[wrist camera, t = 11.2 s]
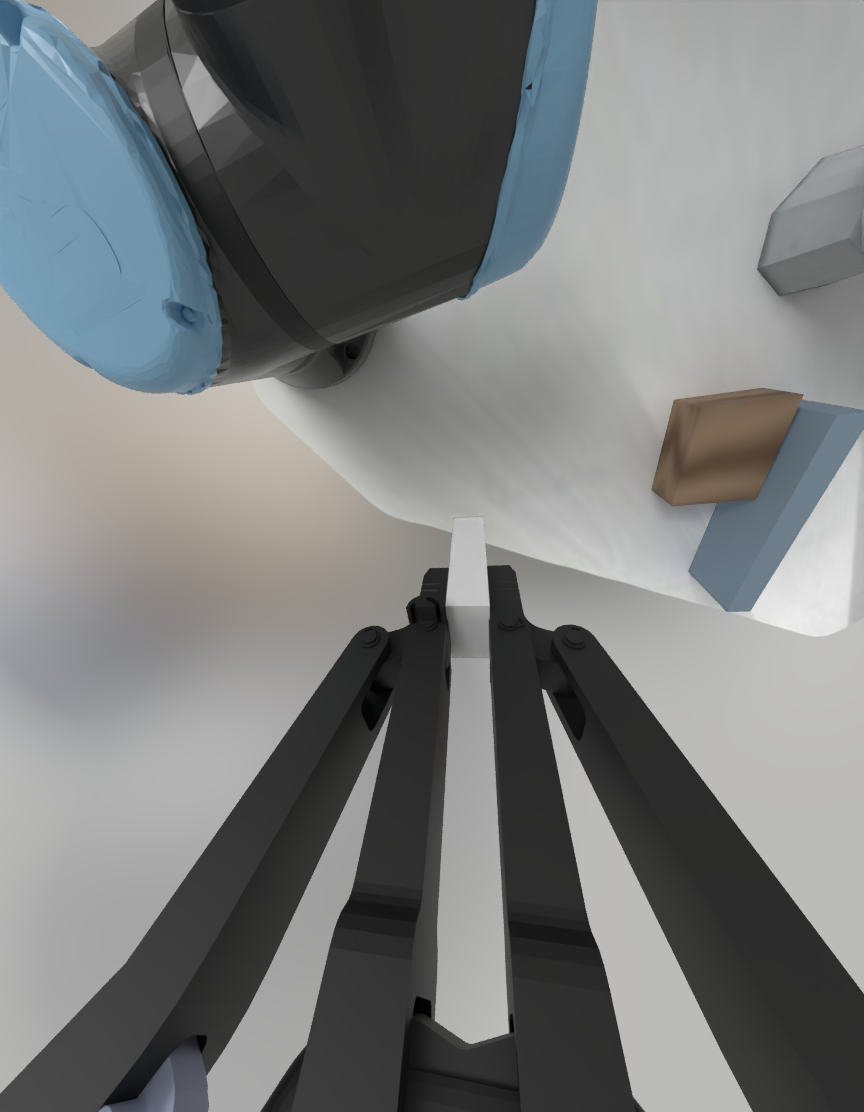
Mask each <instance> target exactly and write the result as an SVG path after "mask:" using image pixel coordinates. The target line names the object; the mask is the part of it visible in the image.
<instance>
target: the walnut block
mask: <svg viewBox="0 0 864 1112" xmlns="http://www.w3.org/2000/svg"><path fill="white" fill-rule="evenodd" d="M803 395H804V394H798V393H791V392H785V391H778V390H772V389H765V388H759V389H752V390H744V391H737V392H730V393H722V394H715V395H707V396H700V397H693V398H685V399H678V400H674V402H673V406H672V410H671V414H670V418H669V422H668V426H667V430H666V434H665V438H664V442H663V446H662V450H661V454H660V458H659V462H658V466H657V470H656V474H655V478H654V482H653V486H652V490H653V491H654V492H655V493H657V494H658V495H659V496H660V497H661V498H663V499H664V500H665V501H666V502H668V503H669V504H670V505H671V506H679V505H691V504H703V503H715V502H727V501H739V500H751V499H756V498H757V496H758V494H759V492H760V490H761V487H762V485H763V483H764V481H765V479H766V476H767V474H768V472H769V470H770V468H771V465H772V463H773V461H774V459H775V457H776V454H777V452H778V450H779V448H780V446H781V443H782V441H783V439H784V437H785V435H786V432H787V430H788V428H789V426H790V424H791V421H792V419H793V417H794V415H795V413H796V410H797V408H798V406H799V404H800V402H801V400H802V397H803Z"/></svg>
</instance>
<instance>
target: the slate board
mask: <svg viewBox="0 0 864 1112" xmlns="http://www.w3.org/2000/svg"><path fill="white" fill-rule="evenodd" d="M863 429H864V410H860V409H854V408H848V407H842V406H836V405H830V404H824V403H818V402H813V401H807V400H801V402H800V404H799V406H798V408H797V410H796V413H795V415H794V417H793V419H792V421H791V424H790V426H789V428H788V430H787V432H786V435H785V437H784V439H783V441H782V443H781V446H780V448H779V450H778V452H777V454H776V457H775V459H774V461H773V463H772V465H771V468H770V470H769V472H768V474H767V476H766V479H765V481H764V483H763V485H762V487H761V490H760V492H759V494H758V496H757V498H756V499H751V500H739V501H727V502H718V504H717V506H716V508H715V511H714V513H713V515H712V518H711V520H710V522H709V525H708V527H707V529H706V532H705V534H704V536H703V539H702V541H701V543H700V546H699V548H698V550H697V553H696V555H695V557H694V560H693V562H692V564H691V566H690V569H689V571H688V572H689V573H690V574H691V575H692V576H693V577H694V578H695V579H696V580H697V581H698V582H699V583H700V584H701V585H702V587H703V588H704V589H705V590H706V591H707V592H708V593H709V594H710V595H711V596H712V597H713V598H714V599H715V600H716V601H717V602H718V603H719V604H720V605H721V606H722V607H723V609H724V610H725V611H726V612H739V611H751V609H752V607H753V606H754V604H755V603H756V601H757V599H758V598H759V596H760V595H761V593H762V591H763V590H764V588H765V587H766V585H767V583H768V582H769V580H770V579H771V577H772V575H773V574H774V572H775V570H776V569H777V567H778V566H779V564H780V562H781V561H782V559H783V558H784V556H785V554H786V553H787V551H788V550H789V548H790V546H791V545H792V543H793V542H794V540H795V538H796V537H797V535H798V534H799V532H800V530H801V529H802V527H803V525H804V524H805V522H806V521H807V519H808V517H809V516H810V514H811V513H812V511H813V509H814V508H815V506H816V505H817V503H818V501H819V500H820V498H821V497H822V495H823V493H824V492H825V490H826V489H827V487H828V485H829V484H830V482H831V480H832V479H833V477H834V476H835V474H836V472H837V471H838V469H839V468H840V466H841V464H842V463H843V461H844V460H845V458H846V456H847V455H848V453H849V452H850V450H851V448H852V447H853V445H854V443H855V442H856V440H857V439H858V437H859V435H860V434H861V432H862V431H863Z"/></svg>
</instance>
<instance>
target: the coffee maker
mask: <svg viewBox="0 0 864 1112" xmlns="http://www.w3.org/2000/svg"><path fill="white" fill-rule="evenodd" d="M757 269H758V270H759V272H760V273H761V274H762V275H763V277H764V278H765V279H766V280H767V281H768V283H769V284H770V285H771V286H772V288H773V289H774V290H775V291H776V292H777V294H778V295H779V296H781V295H785V294H790V293H794V292H798V291H802V290H807V289H811V288H815V287H819V286H824V285H827V284H830V283H833V282H836V281H839V280H842V279H845V278H847V277H850V276H853V275H856V274H859V273H862V272H864V145H863V146H860V147H857V148H854V149H851V150H847V151H844V152H841V153H838V154H835V155H832V156H829V157H825V158H822V159H821V160H820V161H819V162H818V163H817V165H816V166H815V167H814V168H813V169H812V170H811V171H810V172H809V173H808V175H807V176H806V177H805V178H804V179H803V180H802V181H801V182H800V183H799V185H798V186H797V187H796V188H795V189H794V190H793V191H792V192H791V193H790V195H789V196H788V197H787V198H786V199H785V200H784V201H783V202H782V203H781V205H780V206H779V207H778V208H777V209H776V210H775V211H774V212H773V213H772V216H771V219H770V223H769V227H768V231H767V234H766V238H765V242H764V245H763V249H762V253H761V257H760V260H759V264H758V268H757Z"/></svg>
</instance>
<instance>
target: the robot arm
mask: <svg viewBox="0 0 864 1112" xmlns="http://www.w3.org/2000/svg"><path fill="white" fill-rule="evenodd" d="M596 10H597V0H157V1H155V2H154V3H153V4H152V5H151V6H149V7H148V8H147V9H146V10H144V11H143V12H142V13H141V14H139V15H138V16H137V17H136V18H134V19H133V20H132V21H131V22H129V23H128V24H127V25H126V26H124V27H123V28H122V29H121V30H119V31H118V32H117V33H116V34H114V35H113V36H112V37H111V38H110V39H108V40H107V41H106V42H105V43H103V44H102V45H100V46H98V47H88V46H87V45H86V44H84V43H83V42H82V41H81V40H80V39H79V38H77V37H76V36H75V35H74V34H73V32H71V30H70V29H69V28H68V27H67V26H66V25H65V24H63V23H62V22H61V21H59V20H58V19H57V18H55V17H54V16H53V15H51V14H50V13H49V12H47V11H46V10H44V9H43V8H41V7H38V6H35V5H32V4H29V3H26V2H24V1H23V0H0V285H1V286H2V287H3V289H4V290H5V291H6V292H7V293H8V295H9V296H10V297H11V298H12V300H13V301H14V302H15V303H16V304H17V306H19V308H20V309H21V310H22V311H23V312H24V313H25V315H26V316H27V317H28V318H29V319H30V320H31V321H32V322H33V323H34V324H35V325H36V326H37V327H38V328H39V329H40V330H41V331H42V332H43V333H44V334H45V335H46V336H47V337H48V338H49V339H50V340H52V341H53V342H54V343H55V344H56V345H57V346H58V347H60V348H61V349H62V350H63V351H65V352H66V353H67V354H68V355H70V356H71V357H72V358H74V359H75V360H76V361H78V362H79V363H81V364H83V365H85V366H87V367H89V368H92V369H94V370H95V371H96V372H97V373H99V374H100V375H101V376H103V377H104V378H106V379H108V380H109V381H111V382H114V383H116V384H118V385H121V386H123V387H126V388H129V389H132V390H136V391H140V392H145V393H178V394H183V395H184V394H188V395H193V394H196V393H200V392H202V391H204V390H205V389H207V388H208V387H214V386H220V385H226V384H232V383H238V382H244V381H250V380H256V379H263V378H269V377H274V378H276V379H278V380H280V381H282V382H284V383H286V384H289V385H292V386H295V387H300V388H307V389H319V388H325V387H329V386H332V385H336V384H338V383H341V382H343V381H345V380H346V379H348V378H349V377H351V376H352V375H353V374H354V373H355V372H356V371H357V370H358V369H359V368H360V367H361V365H362V364H363V363H364V361H365V359H366V358H367V356H368V354H369V352H370V349H371V347H372V344H373V341H374V337H375V333H376V329H378V328H381V327H383V326H386V325H388V324H391V323H393V322H396V321H399V320H401V319H404V318H406V317H409V316H411V315H414V314H417V313H419V312H422V311H424V310H427V309H430V308H432V307H435V306H437V305H440V304H442V303H445V302H448V301H450V300H453V299H455V298H457V299H458V300H464V299H468V298H470V296H471V295H473V294H475V293H476V292H477V291H478V289H479V288H481V287H484V286H486V285H488V284H490V283H492V282H495V281H497V280H499V279H501V278H504V277H506V276H508V275H510V274H512V273H514V272H516V271H518V270H520V269H521V268H522V267H523V266H525V264H526V263H527V262H528V261H529V260H530V259H531V258H532V257H533V256H534V254H535V253H536V252H537V251H538V250H539V249H540V247H541V246H542V244H543V243H544V241H545V239H546V237H547V235H548V233H549V231H550V229H551V227H552V224H553V222H554V219H555V216H556V214H557V211H558V208H559V205H560V202H561V199H562V196H563V193H564V189H565V186H566V182H567V178H568V174H569V170H570V166H571V162H572V158H573V153H574V149H575V144H576V139H577V134H578V129H579V124H580V118H581V113H582V107H583V101H584V96H585V89H586V83H587V77H588V70H589V63H590V56H591V50H592V42H593V34H594V26H595V18H596ZM450 555H451V556H450V565H449V568H430V569H429V570H428V571H427V573H426V574H425V575H424V579H423V583H422V588H421V593H420V596H418V597H416V598H414V599H412V600H411V601H410V602H409V603H408V605H407V607H406V609H407V613H408V619H409V623H410V624H409V625H408V626H406V627H404V628H402V629H399V630H395V631H392V632H387V631H386V630H385V629H384V628H382V627H380V626H370V627H366V628H364V629H362V630H360V631H359V632H358V633H357V634H356V635H355V636H354V637H353V639H352V640H351V641H350V643H349V644H348V646H347V647H346V648H345V650H344V651H343V653H342V654H341V656H340V657H339V658H338V660H337V661H336V663H335V664H334V666H333V667H332V669H331V670H330V671H329V673H328V674H327V676H326V677H325V679H324V680H323V682H322V683H321V685H320V686H319V687H318V689H317V690H316V691H315V693H314V694H313V696H312V697H311V699H310V700H309V701H308V703H307V704H306V706H305V707H304V709H303V710H302V712H301V713H300V714H299V716H298V717H297V719H296V720H295V722H294V723H293V724H292V726H291V727H290V729H289V730H288V732H287V733H286V735H285V736H284V737H283V739H282V740H281V742H280V743H279V744H278V746H277V747H276V749H275V750H274V752H273V753H272V754H271V756H270V757H269V759H268V760H267V762H266V763H265V764H264V766H263V767H262V769H261V770H260V772H259V773H258V775H257V776H256V777H255V779H254V780H253V782H252V783H251V785H250V786H249V787H248V789H247V790H246V792H245V793H244V795H243V796H242V797H241V799H240V800H239V802H238V803H237V805H236V806H235V807H234V809H233V810H232V812H231V813H230V815H229V816H228V818H227V819H226V821H225V822H224V823H223V825H222V826H221V828H220V829H219V830H218V832H217V833H216V835H215V836H214V838H213V839H212V841H211V842H210V843H209V845H208V846H207V848H206V849H205V850H204V852H203V854H202V855H201V856H200V858H199V859H198V861H197V862H196V864H195V865H194V866H193V868H192V869H191V870H190V872H189V873H188V875H187V876H186V878H185V879H184V881H183V882H182V883H181V885H180V886H179V888H178V889H177V891H176V892H175V894H174V895H173V896H172V898H171V899H170V901H169V902H168V903H167V905H166V906H165V908H164V909H163V911H162V912H161V913H160V915H159V916H158V918H157V919H156V921H155V922H154V924H153V925H152V926H151V928H150V929H149V931H148V932H147V934H146V935H145V936H144V938H143V939H142V941H141V942H140V944H139V945H138V946H137V948H136V949H135V951H134V952H133V954H132V955H131V956H130V958H129V959H128V961H127V962H126V964H125V965H124V966H123V967H122V968H121V969H120V970H119V971H118V972H117V973H116V974H115V975H114V976H113V977H112V978H111V979H110V980H109V981H108V982H107V983H106V984H105V985H104V986H103V987H102V988H101V990H100V991H99V992H98V993H97V994H96V995H95V996H94V997H93V998H92V999H91V1000H90V1001H89V1002H88V1003H87V1004H86V1005H85V1006H84V1007H83V1008H82V1010H80V1011H79V1012H78V1013H77V1015H76V1016H75V1017H74V1018H73V1019H72V1020H71V1021H70V1022H69V1023H68V1024H67V1025H66V1026H65V1027H64V1028H63V1029H62V1030H61V1031H60V1032H59V1033H58V1034H57V1035H56V1036H55V1037H54V1039H52V1040H51V1041H50V1043H49V1044H48V1045H47V1046H46V1047H45V1048H44V1049H43V1050H42V1051H41V1052H40V1053H39V1054H38V1055H37V1056H36V1057H35V1058H34V1059H33V1060H32V1061H31V1063H29V1064H28V1065H27V1066H26V1068H25V1069H24V1070H23V1071H22V1072H21V1073H20V1074H19V1075H18V1076H17V1077H16V1078H15V1079H14V1080H13V1081H12V1082H11V1083H10V1084H9V1085H8V1086H7V1087H6V1088H5V1089H4V1090H3V1092H2V1093H1V1094H0V1112H208V1108H209V1102H208V1093H207V1090H208V1085H207V1077H206V1076H207V1074H208V1073H209V1071H210V1070H211V1068H212V1067H213V1065H214V1064H215V1062H216V1061H217V1059H218V1058H219V1056H220V1055H221V1053H222V1052H223V1050H224V1049H225V1047H226V1045H227V1044H228V1042H229V1041H230V1039H231V1037H232V1035H233V1033H234V1032H235V1030H236V1029H237V1027H238V1025H239V1023H240V1022H241V1020H242V1018H243V1017H244V1015H245V1013H246V1011H247V1010H248V1008H249V1006H250V1004H251V1002H252V1000H253V998H254V996H255V994H256V992H257V990H258V988H259V986H260V985H261V982H262V980H263V979H264V977H265V975H266V973H267V971H268V968H269V967H270V964H271V962H272V960H273V958H274V956H275V954H276V952H277V949H278V947H279V945H280V943H281V941H282V939H283V937H284V934H285V932H286V930H287V928H288V926H289V924H290V922H291V920H292V917H293V915H294V913H295V911H296V909H297V907H298V904H299V902H300V900H301V898H302V896H303V894H304V892H305V889H306V887H307V885H308V883H309V881H310V879H311V876H312V875H313V873H314V870H315V868H316V866H317V864H318V862H319V860H320V858H321V855H322V853H323V851H324V849H325V847H326V845H327V842H328V841H329V838H330V836H331V834H332V832H333V830H334V827H335V826H336V823H337V821H338V819H339V817H340V815H341V813H342V811H343V809H344V806H345V804H346V802H347V800H348V798H349V796H350V793H351V791H352V789H353V787H354V785H355V783H356V781H357V778H358V777H359V774H360V772H361V770H362V768H363V766H364V764H365V761H366V759H367V757H368V755H369V753H370V751H371V749H372V747H373V744H374V742H375V740H376V738H377V736H378V734H379V732H380V729H381V727H382V725H383V723H384V721H385V719H386V716H387V715H388V712H389V710H390V708H391V706H392V709H391V713H390V719H389V723H388V727H387V732H386V737H385V742H384V746H383V751H382V755H381V760H380V764H379V769H378V774H377V778H376V783H375V788H374V792H373V797H372V802H371V806H370V811H369V816H368V820H367V825H366V830H365V834H364V839H363V844H362V848H361V853H360V857H359V862H358V867H357V872H356V876H355V881H354V885H353V888H352V892H351V895H350V897H349V900H348V901H347V903H346V905H345V906H344V908H343V910H342V911H341V914H340V916H339V918H338V921H337V924H336V926H335V929H334V933H333V937H332V940H331V944H330V948H329V952H328V956H327V961H326V965H325V969H324V974H323V978H322V982H321V987H320V991H319V995H318V999H317V1004H316V1008H315V1012H314V1017H313V1021H312V1025H311V1030H310V1034H309V1038H308V1042H307V1045H306V1046H305V1048H304V1049H303V1050H302V1051H301V1053H300V1054H299V1055H298V1056H297V1058H296V1059H295V1060H294V1061H293V1063H292V1064H291V1066H290V1067H289V1069H288V1070H287V1072H286V1073H285V1075H284V1076H283V1078H282V1079H281V1081H280V1082H279V1084H278V1086H277V1087H276V1089H275V1090H274V1092H273V1093H272V1095H271V1096H270V1098H269V1099H268V1101H267V1102H266V1104H265V1106H264V1107H263V1109H262V1110H261V1112H645V1111H644V1110H643V1109H642V1108H641V1106H640V1105H639V1104H638V1102H637V1101H636V1100H635V1099H634V1097H633V1096H632V1091H631V1087H630V1082H629V1077H628V1072H627V1068H626V1063H625V1058H624V1054H623V1049H622V1044H621V1040H620V1035H619V1030H618V1026H617V1021H616V1016H615V1012H614V1007H613V1003H612V998H611V993H610V988H609V984H608V980H607V976H606V972H605V968H604V964H603V961H602V958H601V954H600V951H599V948H598V946H597V944H596V941H595V939H594V937H593V934H592V932H591V928H590V925H589V921H588V918H587V913H586V908H585V903H584V898H583V893H582V888H581V883H580V878H579V874H578V868H577V863H576V858H575V853H574V848H573V843H572V838H571V833H570V828H569V823H568V819H567V813H566V809H565V804H564V799H563V794H562V789H561V784H560V779H559V774H558V769H557V764H556V759H555V754H554V749H553V744H552V739H551V734H550V729H549V724H548V719H547V714H546V709H545V704H544V699H543V694H542V689H544V690H546V692H547V694H548V696H549V698H550V700H551V702H552V704H553V706H554V708H555V710H556V712H557V714H558V716H559V718H560V721H561V723H562V725H563V727H564V729H565V731H566V733H567V735H568V737H569V739H570V741H571V743H572V745H573V747H574V749H575V752H576V754H577V756H578V758H579V760H580V762H581V764H582V766H583V768H584V770H585V772H586V774H587V776H588V778H589V780H590V782H591V784H592V786H593V789H594V791H595V793H596V795H597V797H598V799H599V801H600V803H601V805H602V807H603V809H604V811H605V813H606V815H607V817H608V819H609V821H610V823H611V825H612V827H613V830H614V832H615V834H616V836H617V838H618V840H619V842H620V844H621V846H622V848H623V850H624V852H625V854H626V856H627V858H628V860H629V862H630V864H631V867H632V869H633V871H634V873H635V875H636V877H637V879H638V881H639V883H640V885H641V887H642V889H643V891H644V893H645V895H646V897H647V899H648V901H649V904H650V906H651V908H652V910H653V912H654V914H655V916H656V918H657V920H658V922H659V924H660V926H661V928H662V930H663V932H664V934H665V936H666V938H667V941H668V943H669V944H670V947H671V948H672V951H673V953H674V955H675V957H676V959H677V961H678V963H679V965H680V967H681V969H682V971H683V973H684V975H685V977H686V980H687V981H688V984H689V986H690V988H691V990H692V992H693V994H694V996H695V998H696V1000H697V1002H698V1004H699V1006H700V1008H701V1010H702V1012H703V1014H704V1017H705V1019H706V1021H707V1023H708V1025H709V1027H710V1029H711V1031H712V1033H713V1035H714V1037H715V1039H716V1041H717V1043H718V1045H719V1047H720V1050H721V1051H722V1053H723V1055H724V1057H725V1059H726V1061H727V1063H728V1065H729V1067H730V1069H731V1071H732V1072H733V1075H734V1076H735V1078H736V1080H737V1082H738V1084H739V1086H740V1088H741V1090H742V1092H743V1094H744V1096H745V1097H746V1099H747V1101H748V1103H749V1105H750V1107H751V1109H752V1111H753V1112H864V994H863V992H862V991H861V990H860V989H859V987H858V986H857V984H856V983H855V982H854V980H853V979H852V978H851V976H850V975H849V974H848V972H847V971H846V970H845V968H844V967H843V966H842V965H841V963H840V962H839V960H838V959H837V958H836V956H835V955H834V954H833V952H832V951H831V950H830V948H829V947H828V946H827V944H826V943H825V942H824V941H823V939H822V938H821V937H820V935H819V934H818V933H817V931H816V930H815V929H814V927H813V926H812V925H811V923H810V922H809V921H808V919H807V918H806V917H805V915H804V914H803V913H802V911H801V910H800V909H799V907H798V906H797V905H796V904H795V902H794V901H793V900H792V898H791V897H790V895H789V894H788V893H787V891H786V890H785V889H784V887H783V886H782V885H781V883H780V882H779V881H778V879H777V878H776V877H775V875H774V874H773V873H772V872H771V870H770V869H769V867H768V866H767V865H766V864H765V862H764V861H763V860H762V858H761V857H760V856H759V854H758V853H757V852H756V850H755V849H754V848H753V846H752V845H751V844H750V842H749V841H748V840H747V838H746V837H745V836H744V834H743V833H742V832H741V830H740V829H739V828H738V826H737V825H736V824H735V822H734V821H733V820H732V819H731V817H730V816H729V814H728V813H727V812H726V810H725V809H724V808H723V806H722V805H721V804H720V803H719V801H718V800H717V798H716V797H715V796H714V795H713V793H712V792H711V790H710V789H709V788H708V787H707V786H706V784H705V783H704V781H703V780H702V779H701V777H700V776H699V775H698V773H697V772H696V771H695V769H694V768H693V767H692V765H691V764H690V763H689V761H688V760H687V759H686V757H685V756H684V755H683V754H682V752H681V751H680V749H679V748H678V747H677V745H676V744H675V743H674V741H673V740H672V739H671V738H670V736H669V735H668V733H667V732H666V731H665V729H664V728H663V727H662V725H661V724H660V723H659V721H658V720H657V719H656V718H655V716H654V715H653V714H652V712H651V711H650V710H649V708H648V707H647V706H646V704H645V703H644V702H643V700H642V699H641V698H640V696H639V695H638V694H637V692H636V691H635V690H634V688H633V687H632V686H631V684H630V683H629V682H628V680H627V679H626V678H625V676H624V675H623V674H622V672H621V671H620V670H619V668H618V667H617V666H616V664H615V663H614V662H613V660H612V659H611V658H610V656H609V655H608V654H607V652H606V651H605V650H604V648H603V647H602V646H601V645H600V643H599V642H598V641H597V639H596V638H595V637H594V635H592V634H591V633H590V632H589V631H588V630H586V629H584V628H582V627H580V626H576V625H563V626H560V627H558V628H557V629H556V630H555V631H554V632H553V631H549V630H545V629H542V628H539V627H536V626H534V625H533V624H531V623H530V622H529V621H528V620H527V619H526V618H525V616H524V613H523V609H522V604H521V598H520V593H519V589H518V583H517V578H516V573H515V571H514V570H513V569H512V568H511V567H510V566H509V565H503V566H502V565H501V566H487V561H486V547H485V533H484V519H483V517H466V518H454V524H453V534H452V545H451V554H450ZM451 657H452V658H490V683H491V696H492V697H491V698H492V716H493V734H494V752H495V771H496V787H497V806H498V826H499V843H500V862H501V879H502V898H503V917H504V934H505V959H506V960H505V962H506V984H507V1001H508V1021H509V1034H505V1035H502V1036H499V1037H495V1038H492V1039H488V1040H485V1041H481V1042H478V1043H475V1044H468V1043H466V1042H464V1041H463V1040H461V1039H460V1038H459V1037H457V1036H455V1035H454V1034H453V1033H451V1032H450V1031H448V1030H447V1029H446V1028H444V1027H443V1026H441V1025H440V1024H438V1023H437V1022H435V1003H436V984H437V952H438V949H437V915H438V898H439V881H440V862H441V845H442V826H443V808H444V793H445V775H446V757H447V740H448V721H449V705H450V686H451V662H450V660H451Z"/></svg>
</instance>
